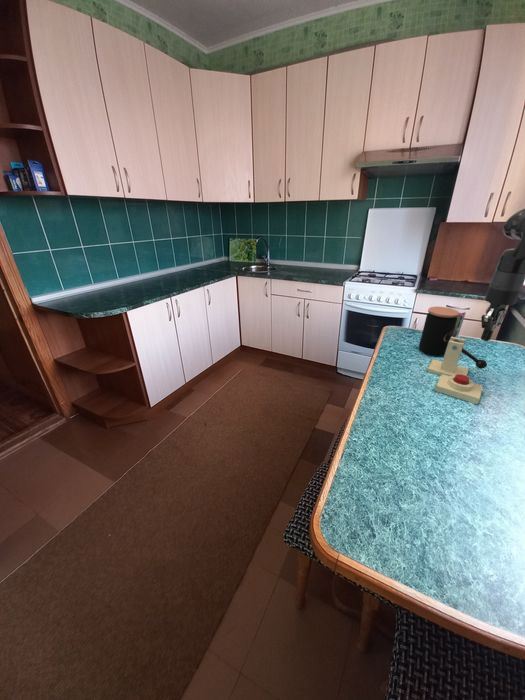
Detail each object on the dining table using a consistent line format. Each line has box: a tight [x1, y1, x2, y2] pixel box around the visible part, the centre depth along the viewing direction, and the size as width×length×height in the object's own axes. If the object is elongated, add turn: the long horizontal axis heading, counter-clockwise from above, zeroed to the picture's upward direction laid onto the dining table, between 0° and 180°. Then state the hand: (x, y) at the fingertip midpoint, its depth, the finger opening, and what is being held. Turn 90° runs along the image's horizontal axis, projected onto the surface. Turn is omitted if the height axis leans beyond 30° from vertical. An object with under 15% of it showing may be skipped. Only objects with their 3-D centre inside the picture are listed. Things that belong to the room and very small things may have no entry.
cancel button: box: [454, 374, 471, 385], centre depth 95 cm, size 4×4×2 cm
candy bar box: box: [436, 305, 466, 338], centre depth 123 cm, size 11×5×16 cm, turn 45°
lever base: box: [426, 337, 470, 377], centre depth 105 cm, size 12×9×13 cm
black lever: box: [454, 339, 488, 370], centre depth 101 cm, size 13×3×3 cm, turn 52°
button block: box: [434, 374, 484, 405], centre depth 96 cm, size 12×9×4 cm
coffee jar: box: [418, 306, 459, 357], centre depth 118 cm, size 11×11×18 cm
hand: (485, 339), depth 93 cm, fingers closed
